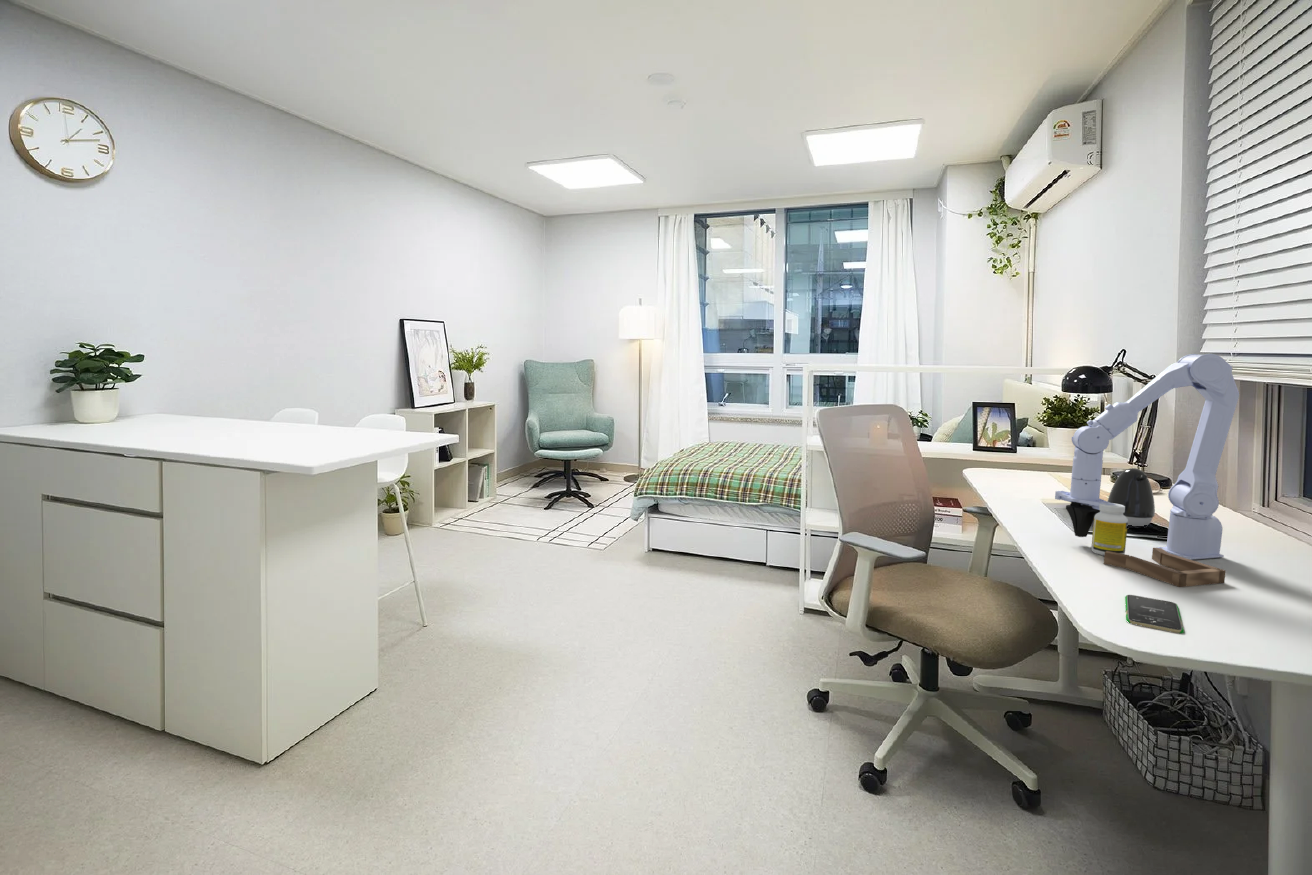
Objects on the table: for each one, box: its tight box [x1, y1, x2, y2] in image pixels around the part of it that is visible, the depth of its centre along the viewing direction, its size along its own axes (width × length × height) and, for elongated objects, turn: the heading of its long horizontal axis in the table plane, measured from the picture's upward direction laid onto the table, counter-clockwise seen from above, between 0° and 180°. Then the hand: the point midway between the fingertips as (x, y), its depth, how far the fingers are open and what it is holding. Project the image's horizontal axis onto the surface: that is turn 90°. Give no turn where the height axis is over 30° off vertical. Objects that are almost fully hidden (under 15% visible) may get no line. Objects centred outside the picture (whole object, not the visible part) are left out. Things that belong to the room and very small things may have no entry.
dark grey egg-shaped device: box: [1106, 467, 1156, 526], centre depth 169 cm, size 10×10×15 cm
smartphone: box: [1124, 594, 1185, 634], centre depth 113 cm, size 8×1×15 cm
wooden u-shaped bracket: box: [1103, 547, 1227, 588], centre depth 135 cm, size 15×15×2 cm
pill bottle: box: [1091, 503, 1128, 556], centre depth 146 cm, size 6×6×11 cm
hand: (1080, 536), depth 154 cm, fingers closed
